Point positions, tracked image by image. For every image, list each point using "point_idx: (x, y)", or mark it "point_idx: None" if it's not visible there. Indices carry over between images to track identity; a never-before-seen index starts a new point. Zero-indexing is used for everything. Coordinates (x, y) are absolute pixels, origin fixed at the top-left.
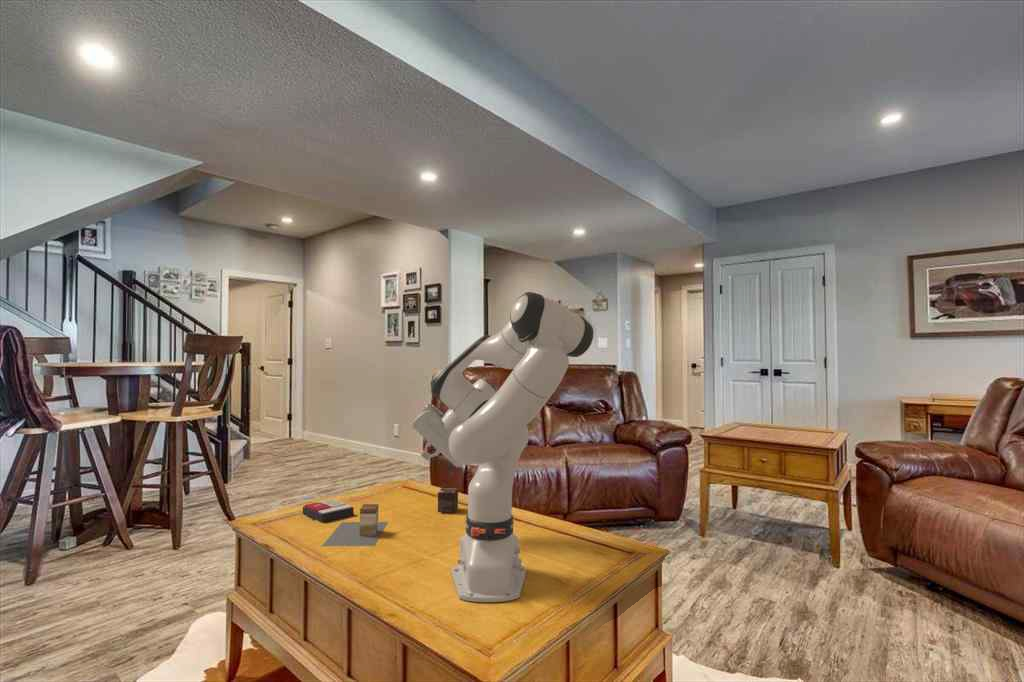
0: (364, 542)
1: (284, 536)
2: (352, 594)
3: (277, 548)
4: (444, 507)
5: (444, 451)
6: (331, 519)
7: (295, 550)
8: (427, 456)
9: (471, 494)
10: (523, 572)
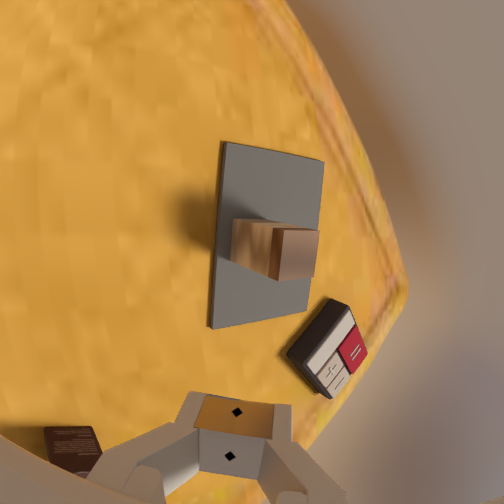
0: (251, 169)
1: (370, 233)
2: None
3: (371, 175)
4: (76, 438)
5: (13, 487)
6: (325, 315)
7: (352, 159)
8: (220, 414)
9: None
10: None
